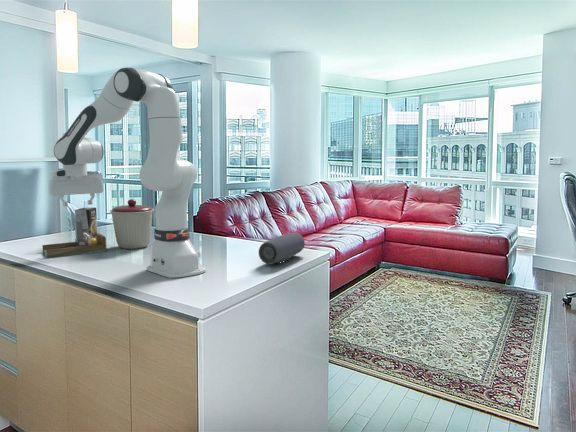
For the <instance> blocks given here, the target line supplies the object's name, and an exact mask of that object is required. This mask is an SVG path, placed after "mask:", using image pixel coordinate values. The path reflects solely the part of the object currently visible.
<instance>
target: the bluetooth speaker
mask: <svg viewBox="0 0 576 432" xmlns="http://www.w3.org/2000/svg"><path fill="white" fill-rule="evenodd" d="M305 244H306V243H305V239H304V237H303V235H301V234H300V233H299V232H289V233H286V234H282V235H279V236H276V237H273V238H271V239H268V240H267V241H265V242H262V243H261V244H260V247H259V249H258V257H259V259H260V260H261V262H262V263H264V264H266V265H272V264H275V263H280V262H283V261H286V260H288V259H290V258H291V259H292V257H294V256H296V255H297V254H299V253H300V252H302V251H303V250H304V248H305ZM291 259H290V260H291ZM288 261H289V260H288ZM286 262H287V261H286Z"/></svg>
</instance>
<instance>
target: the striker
mask: <svg viewBox="0 0 576 432" xmlns="http://www.w3.org/2000/svg"><path fill="white" fill-rule="evenodd" d="M74 231H75V238H74V242H75V247H79V246H85V243H84V241H83V226H82V221H75V220H74Z"/></svg>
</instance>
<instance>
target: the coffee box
mask: <svg viewBox="0 0 576 432" xmlns="http://www.w3.org/2000/svg"><path fill="white" fill-rule="evenodd" d="M97 212H98V211H97V207H81V208H78V209H75V210H74V217H75V218H74V219H75V220H74V222H75V221H82V226H83V233H87V234H88V235H90V236H91V238H95V239H96V233H99V232H98V218H97V216H98V215H97ZM83 235H84V234H83ZM83 241H84V238H83ZM87 241H88V237H87Z"/></svg>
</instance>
